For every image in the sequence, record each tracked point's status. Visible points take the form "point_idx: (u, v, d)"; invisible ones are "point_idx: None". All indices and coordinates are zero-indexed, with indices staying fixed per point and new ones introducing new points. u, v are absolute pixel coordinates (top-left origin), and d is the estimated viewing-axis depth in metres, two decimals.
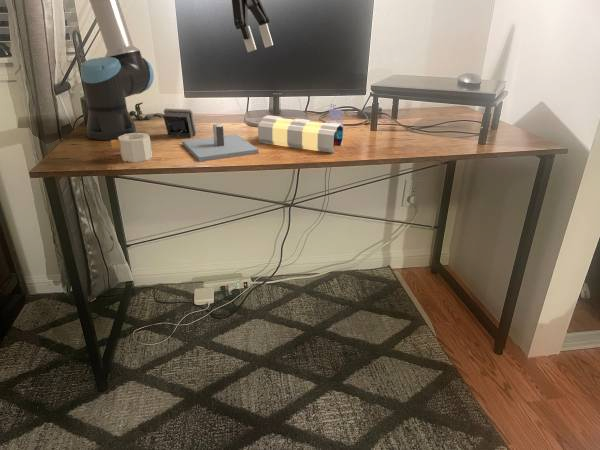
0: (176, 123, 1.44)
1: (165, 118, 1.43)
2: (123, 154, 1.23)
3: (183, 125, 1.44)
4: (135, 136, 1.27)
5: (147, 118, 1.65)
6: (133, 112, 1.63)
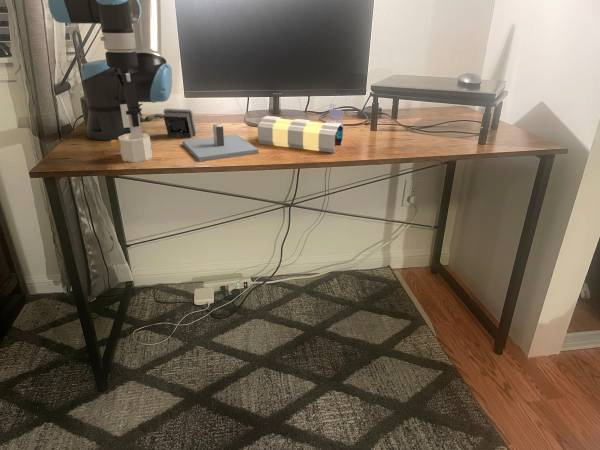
0: (176, 123, 1.44)
1: (165, 118, 1.43)
2: (123, 154, 1.23)
3: (183, 125, 1.44)
4: None
5: (148, 119, 1.63)
6: None
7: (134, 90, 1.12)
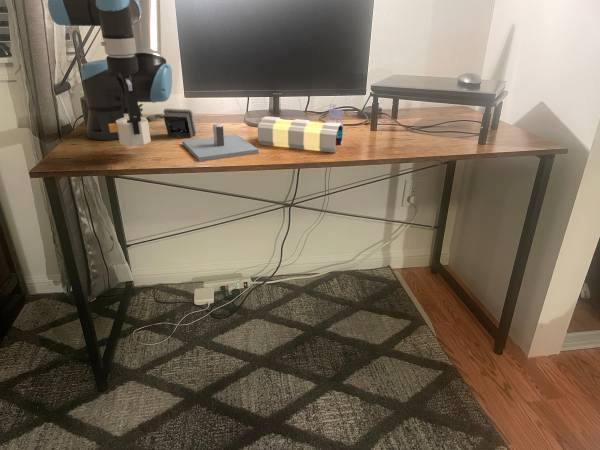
0: (176, 123, 1.44)
1: (165, 118, 1.43)
2: (121, 138, 1.22)
3: (183, 125, 1.44)
4: None
5: (149, 119, 1.63)
6: None
7: (135, 100, 1.15)
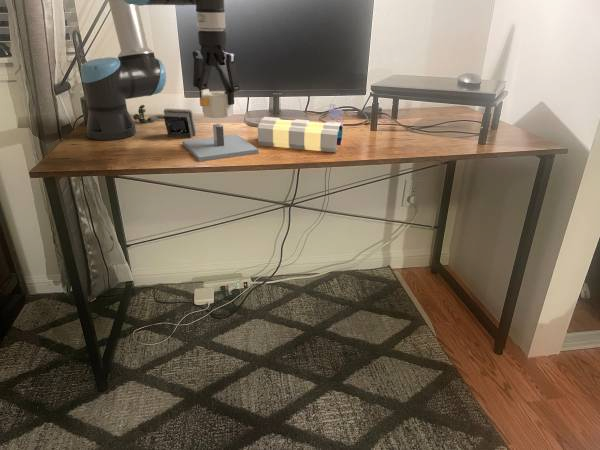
0: (176, 123, 1.44)
1: (165, 118, 1.43)
2: (213, 111, 1.26)
3: (183, 125, 1.44)
4: (211, 94, 1.30)
5: (151, 120, 1.62)
6: (137, 115, 1.59)
7: (235, 70, 1.23)
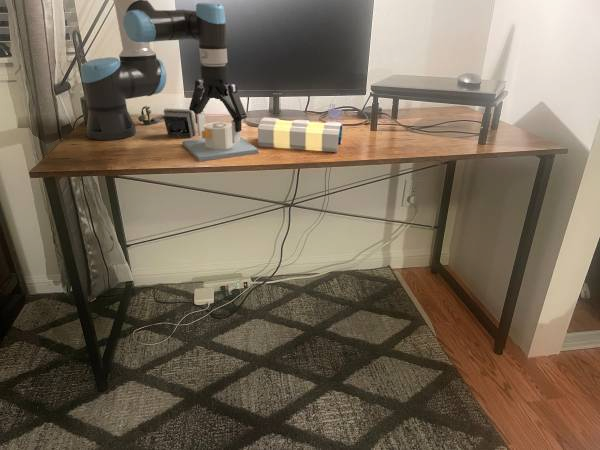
0: (176, 123, 1.44)
1: (165, 118, 1.43)
2: (215, 142, 1.31)
3: (183, 125, 1.44)
4: None
5: (155, 121, 1.61)
6: (142, 117, 1.57)
7: (239, 99, 1.26)
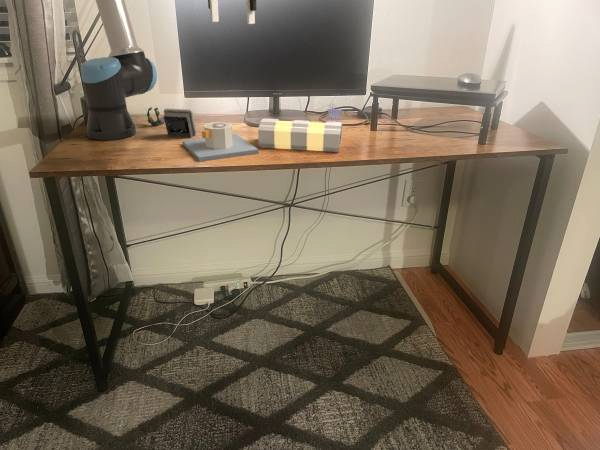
0: (176, 123, 1.44)
1: (165, 118, 1.43)
2: (215, 142, 1.31)
3: (183, 125, 1.44)
4: None
5: (162, 122, 1.60)
6: (152, 118, 1.55)
7: None
